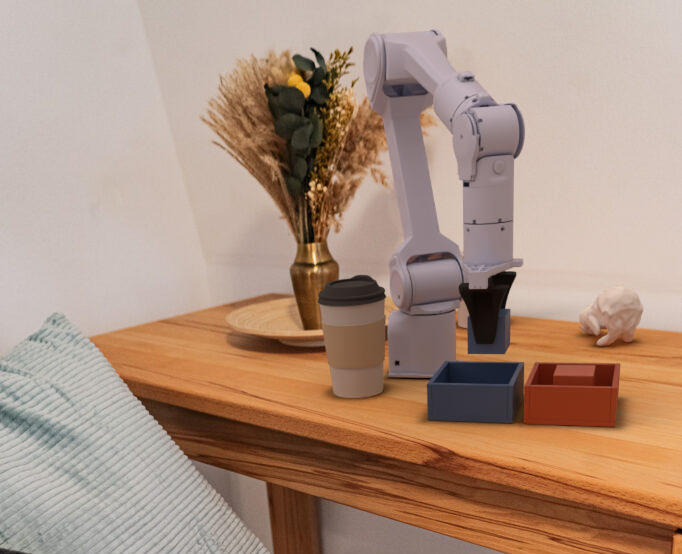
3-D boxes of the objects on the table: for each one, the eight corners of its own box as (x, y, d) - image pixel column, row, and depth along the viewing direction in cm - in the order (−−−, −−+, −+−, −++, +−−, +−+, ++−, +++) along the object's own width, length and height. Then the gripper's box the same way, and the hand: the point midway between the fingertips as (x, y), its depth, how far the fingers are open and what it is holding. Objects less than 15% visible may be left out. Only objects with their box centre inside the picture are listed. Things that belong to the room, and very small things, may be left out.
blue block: (467, 354, 102) (467, 317, 100) (474, 344, 106) (473, 308, 104) (504, 354, 100) (505, 316, 98) (510, 345, 104) (510, 308, 102)
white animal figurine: (608, 290, 121) (567, 285, 132) (608, 349, 124) (567, 340, 135) (647, 284, 122) (603, 280, 133) (646, 343, 125) (602, 334, 136)
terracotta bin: (523, 423, 98) (524, 385, 96) (534, 397, 107) (535, 362, 105) (614, 427, 95) (617, 388, 93) (617, 399, 104) (620, 363, 102)
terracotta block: (552, 411, 100) (553, 375, 98) (555, 400, 104) (557, 364, 102) (591, 413, 98) (593, 375, 96) (593, 401, 102) (595, 365, 100)
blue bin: (427, 420, 102) (426, 383, 100) (445, 394, 111) (444, 360, 109) (512, 423, 99) (512, 385, 97) (523, 397, 108) (524, 361, 106)
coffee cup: (369, 403, 110) (362, 287, 103) (312, 396, 114) (302, 285, 108) (402, 384, 116) (397, 274, 110) (347, 378, 121) (340, 272, 115)
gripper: (514, 228, 89) (513, 353, 95) (530, 212, 102) (528, 324, 107) (449, 230, 91) (451, 353, 97) (472, 214, 104) (473, 324, 109)
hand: (488, 338), depth 102 cm, fingers closed on blue block, 4 cm apart
